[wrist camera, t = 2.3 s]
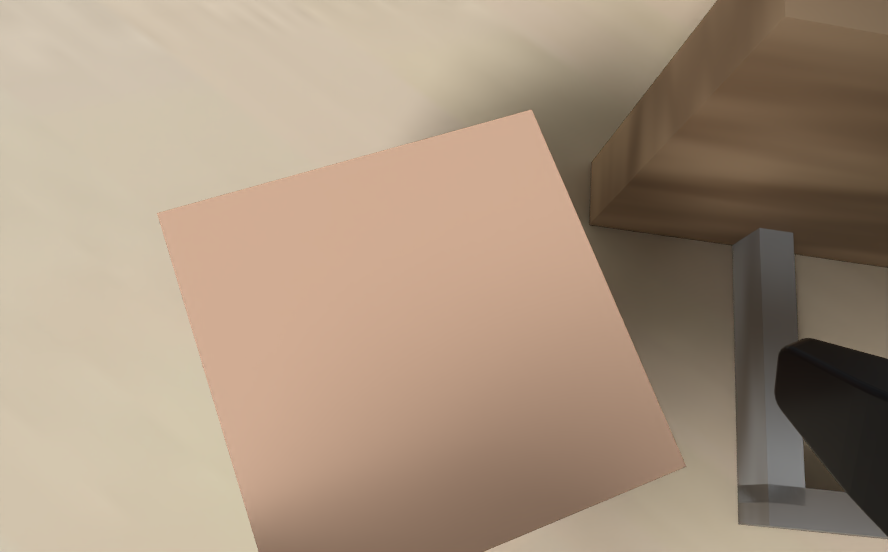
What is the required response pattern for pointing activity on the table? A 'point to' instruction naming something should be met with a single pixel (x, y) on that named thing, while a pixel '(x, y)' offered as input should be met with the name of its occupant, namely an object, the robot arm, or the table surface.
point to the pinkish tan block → (416, 348)
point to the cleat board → (765, 198)
